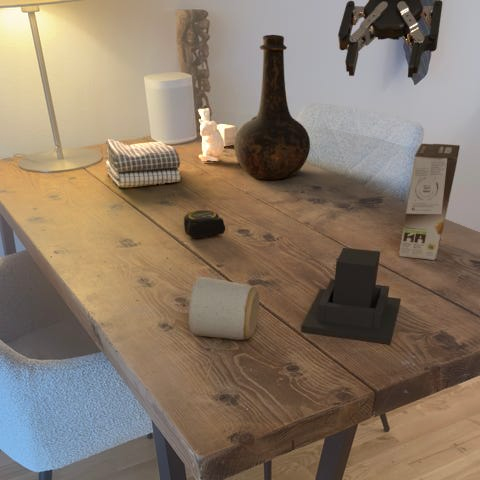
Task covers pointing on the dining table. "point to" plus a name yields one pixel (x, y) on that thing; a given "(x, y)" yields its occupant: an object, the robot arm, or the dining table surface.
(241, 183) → the dining table surface
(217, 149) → the white upright figurine
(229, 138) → the small box
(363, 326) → the base pad
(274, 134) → the glass bottle
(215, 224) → the tape measure
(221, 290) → the off-white cylinder
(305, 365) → the dining table surface
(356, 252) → the dark grey rectangular block
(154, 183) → the towel
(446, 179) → the coffee box
